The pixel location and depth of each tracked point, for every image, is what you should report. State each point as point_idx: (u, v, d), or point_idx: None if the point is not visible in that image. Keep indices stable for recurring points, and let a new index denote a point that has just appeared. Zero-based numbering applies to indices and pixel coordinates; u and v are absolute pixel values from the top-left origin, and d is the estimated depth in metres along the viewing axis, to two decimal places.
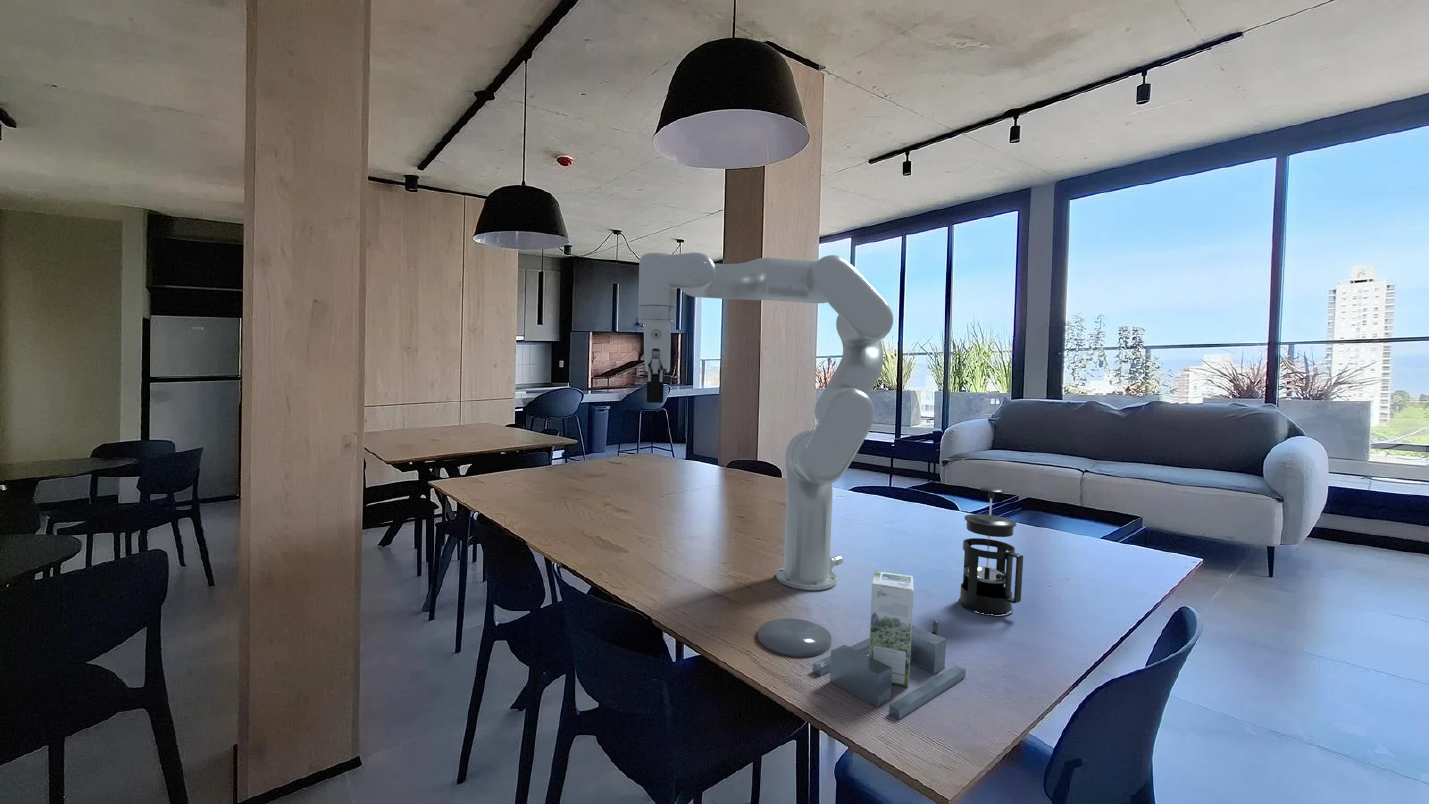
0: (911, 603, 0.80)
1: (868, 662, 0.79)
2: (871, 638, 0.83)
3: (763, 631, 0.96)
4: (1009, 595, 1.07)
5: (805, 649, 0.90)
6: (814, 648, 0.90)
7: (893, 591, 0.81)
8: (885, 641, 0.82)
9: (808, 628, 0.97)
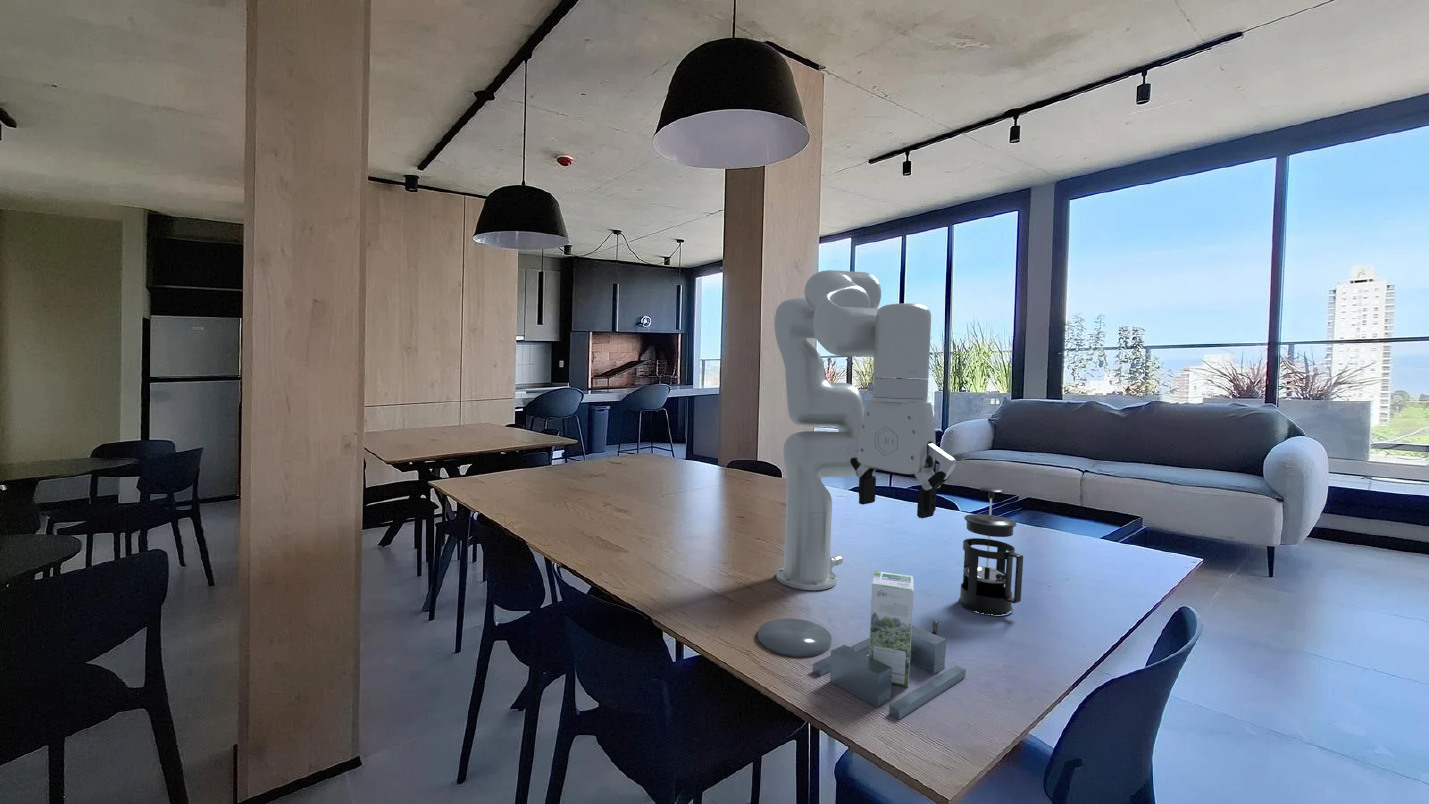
0: (911, 603, 0.80)
1: (868, 662, 0.79)
2: (871, 638, 0.83)
3: (763, 631, 0.96)
4: (1009, 595, 1.07)
5: (805, 649, 0.90)
6: (814, 648, 0.90)
7: (893, 591, 0.81)
8: (885, 641, 0.82)
9: (808, 628, 0.97)
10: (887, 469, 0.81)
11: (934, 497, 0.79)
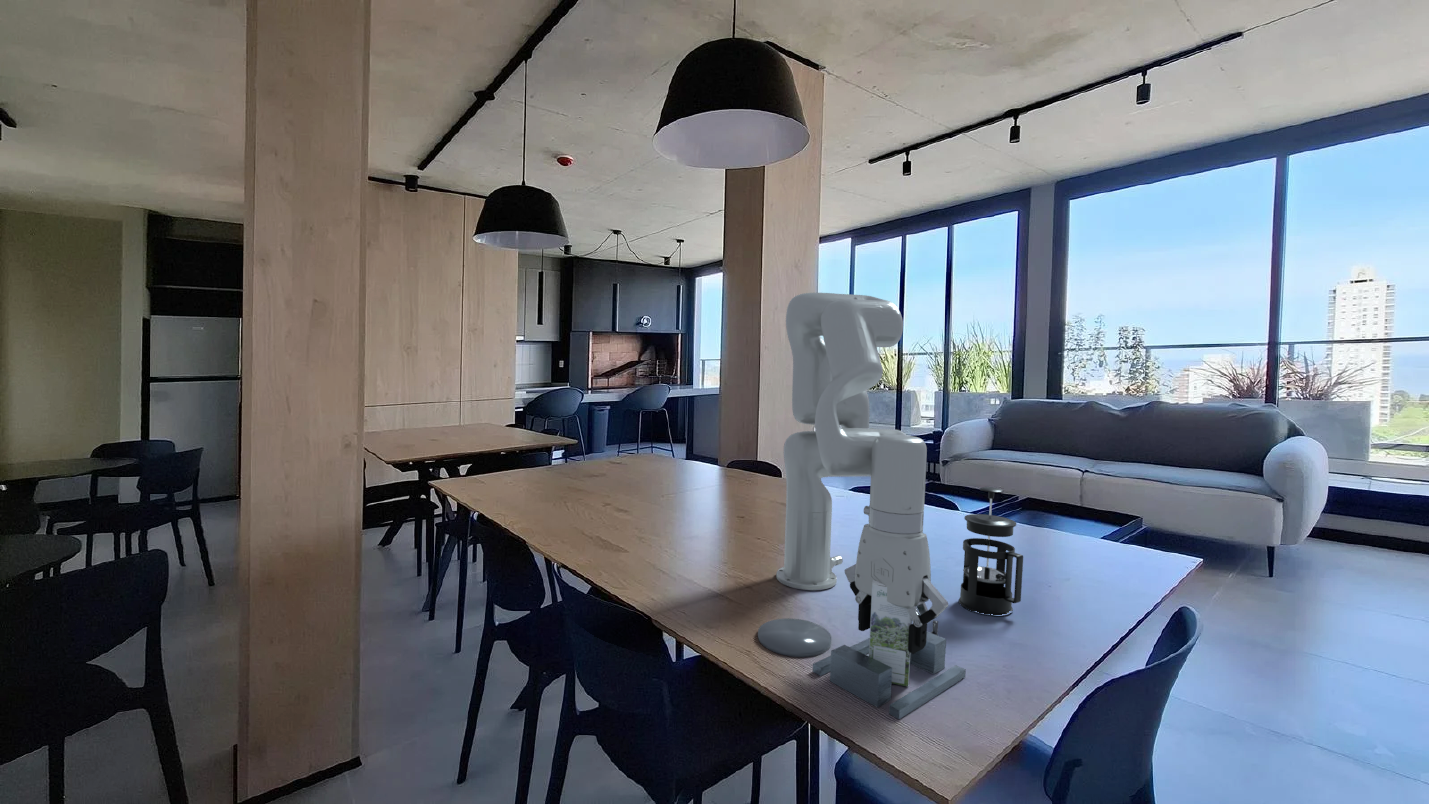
0: None
1: (868, 662, 0.79)
2: (871, 638, 0.83)
3: (763, 631, 0.96)
4: (1009, 595, 1.07)
5: (805, 649, 0.90)
6: (814, 648, 0.90)
7: None
8: (885, 641, 0.82)
9: (808, 628, 0.97)
10: None
11: (925, 632, 0.81)
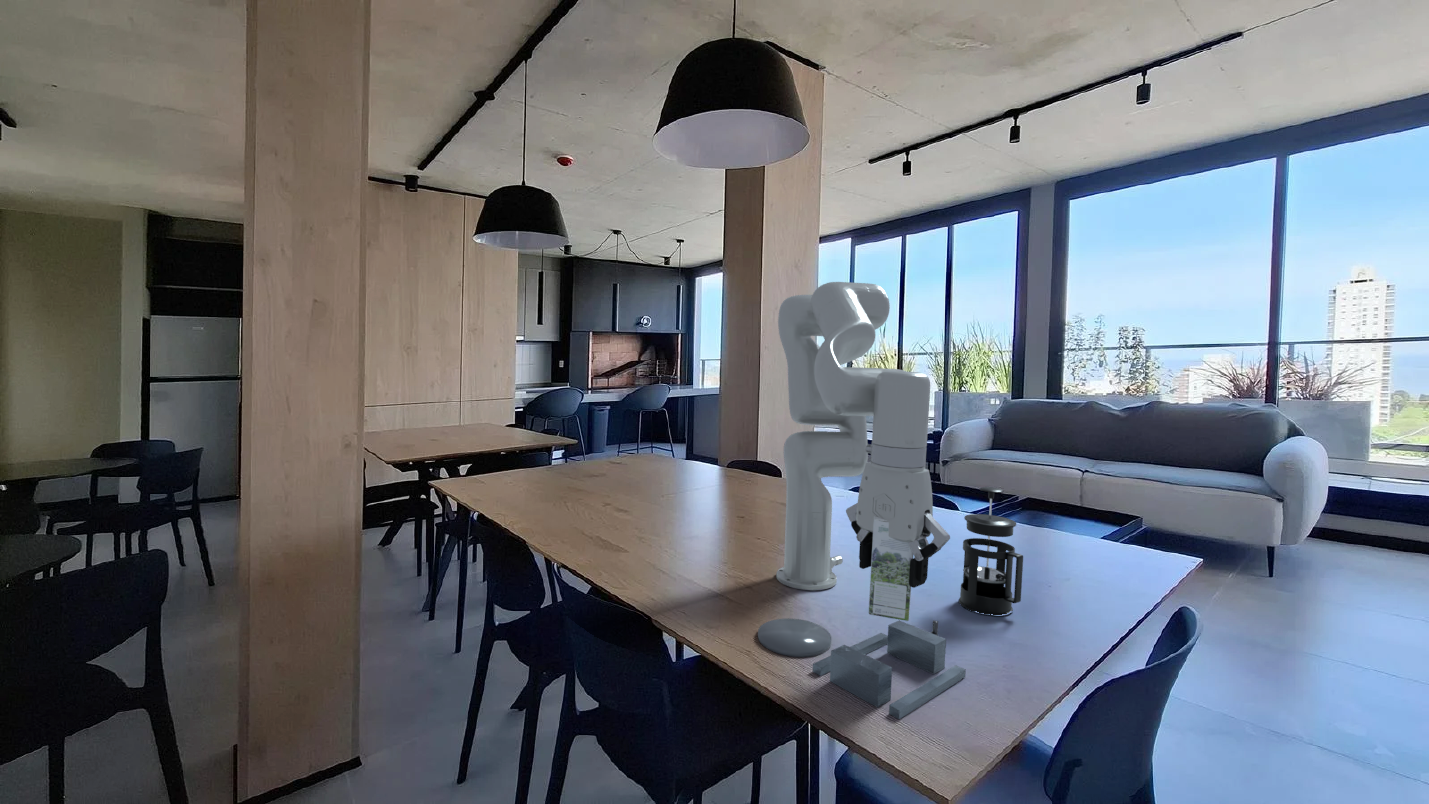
0: None
1: (868, 662, 0.79)
2: (872, 573, 0.83)
3: (763, 631, 0.96)
4: (1009, 595, 1.07)
5: (805, 649, 0.90)
6: (814, 648, 0.90)
7: None
8: (886, 576, 0.82)
9: (808, 628, 0.97)
10: None
11: (926, 567, 0.81)
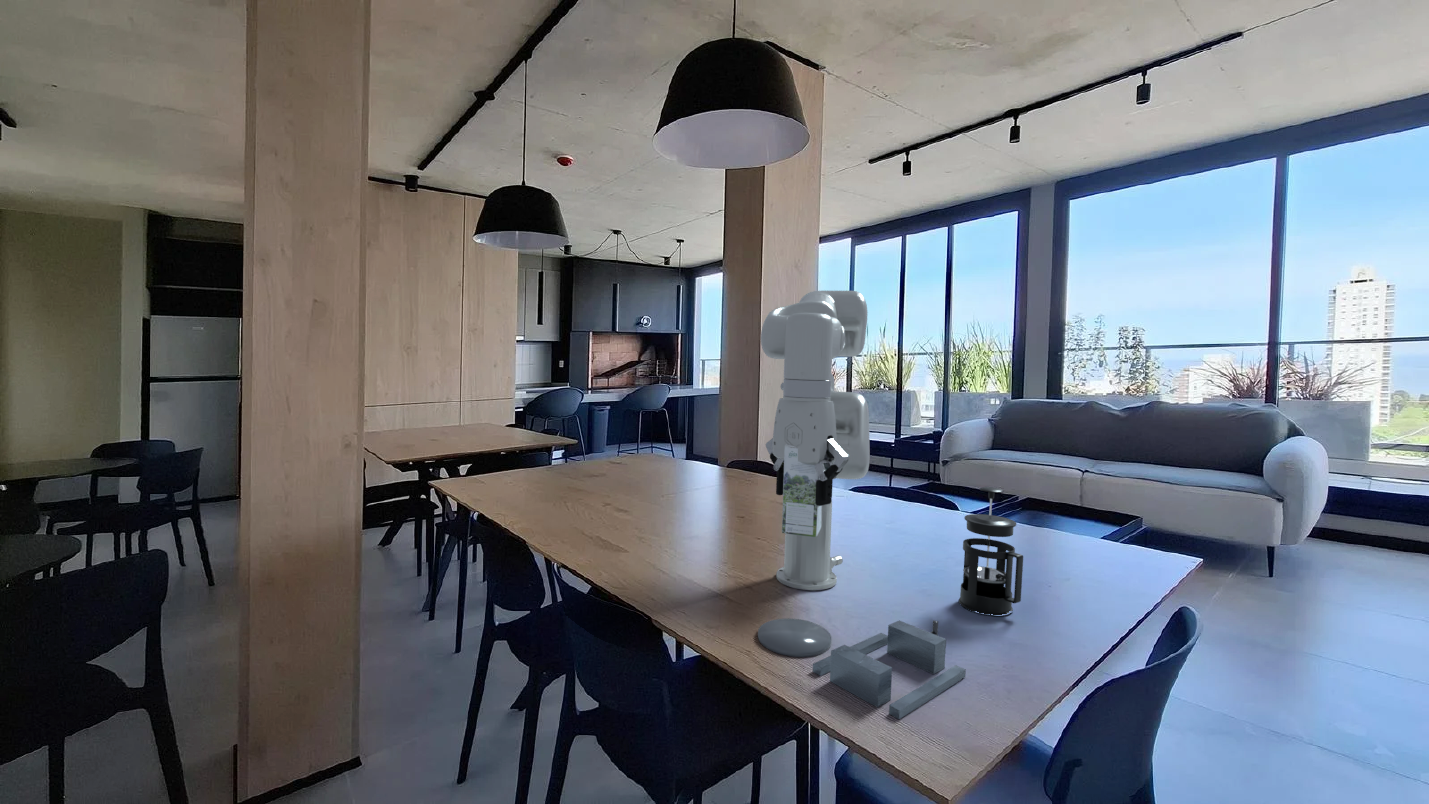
0: None
1: (868, 662, 0.79)
2: (784, 495, 0.92)
3: (763, 631, 0.96)
4: (1009, 595, 1.07)
5: (805, 649, 0.90)
6: (814, 648, 0.90)
7: None
8: (796, 497, 0.91)
9: (808, 628, 0.97)
10: None
11: (830, 487, 0.90)
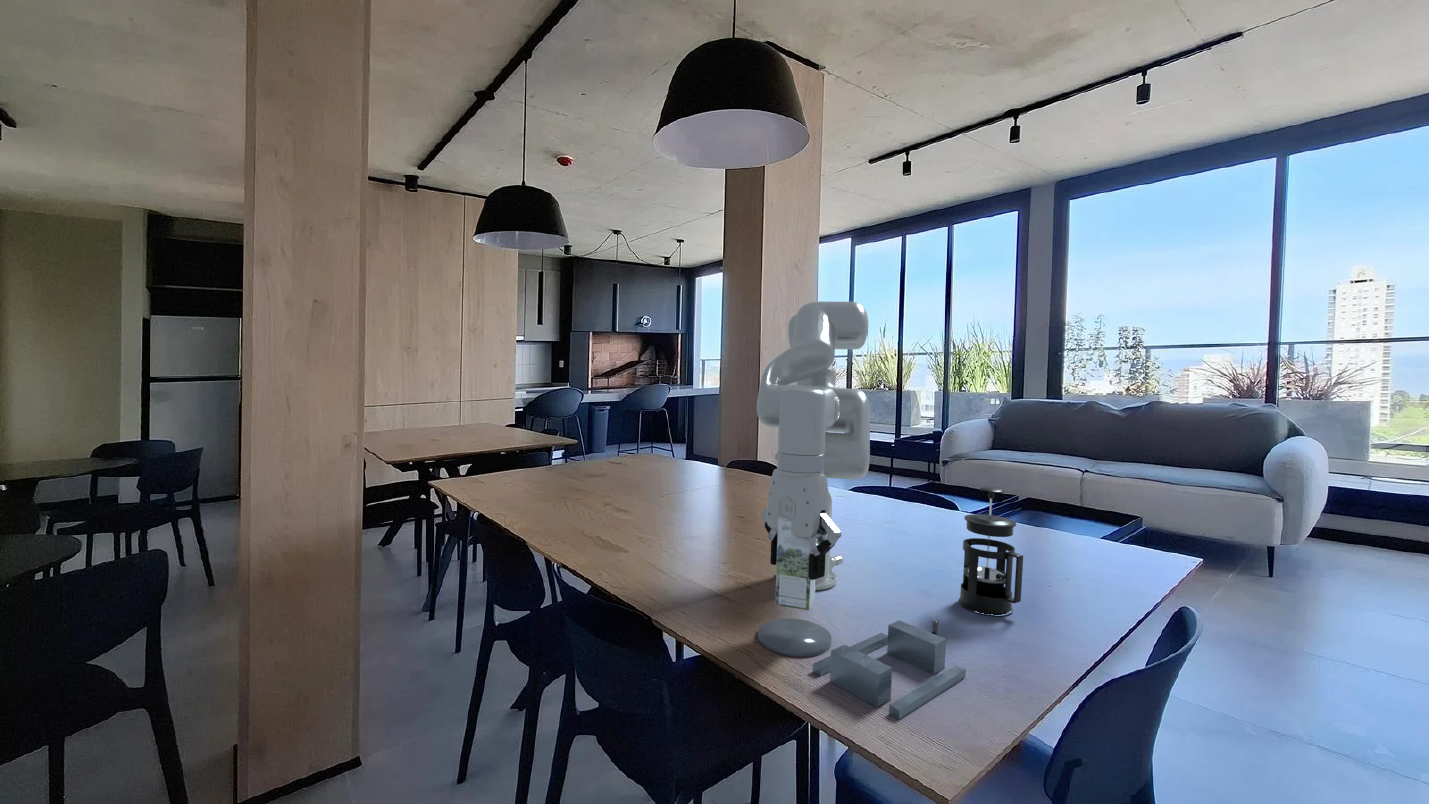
0: None
1: (868, 662, 0.79)
2: (777, 568, 0.93)
3: (763, 631, 0.96)
4: (1009, 595, 1.07)
5: (805, 649, 0.90)
6: (814, 648, 0.90)
7: None
8: (789, 570, 0.92)
9: (808, 628, 0.97)
10: None
11: (823, 561, 0.90)
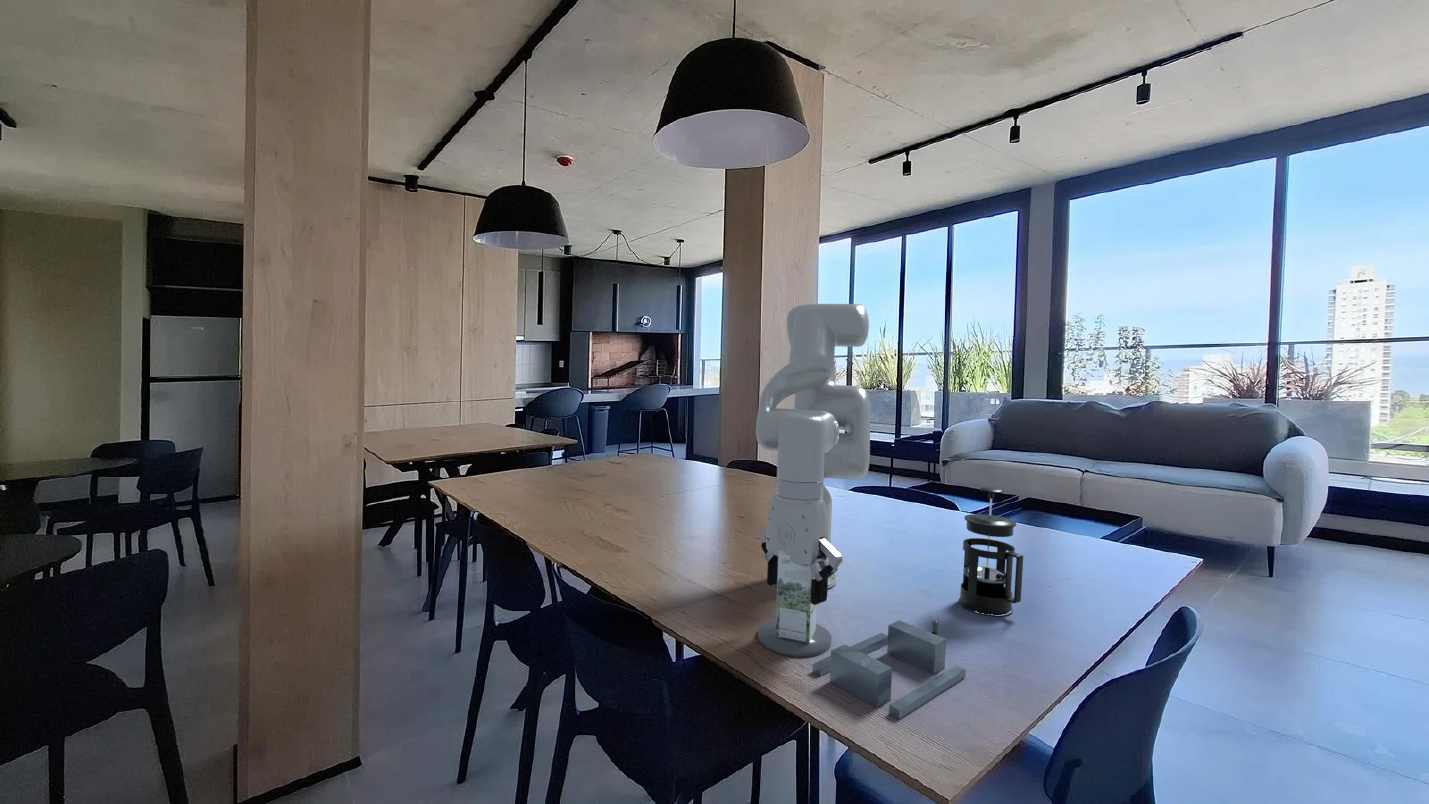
0: None
1: (868, 662, 0.79)
2: (777, 601, 0.93)
3: (763, 631, 0.96)
4: (1009, 595, 1.07)
5: (805, 649, 0.90)
6: (814, 648, 0.90)
7: None
8: (789, 603, 0.92)
9: None
10: None
11: (825, 586, 0.90)
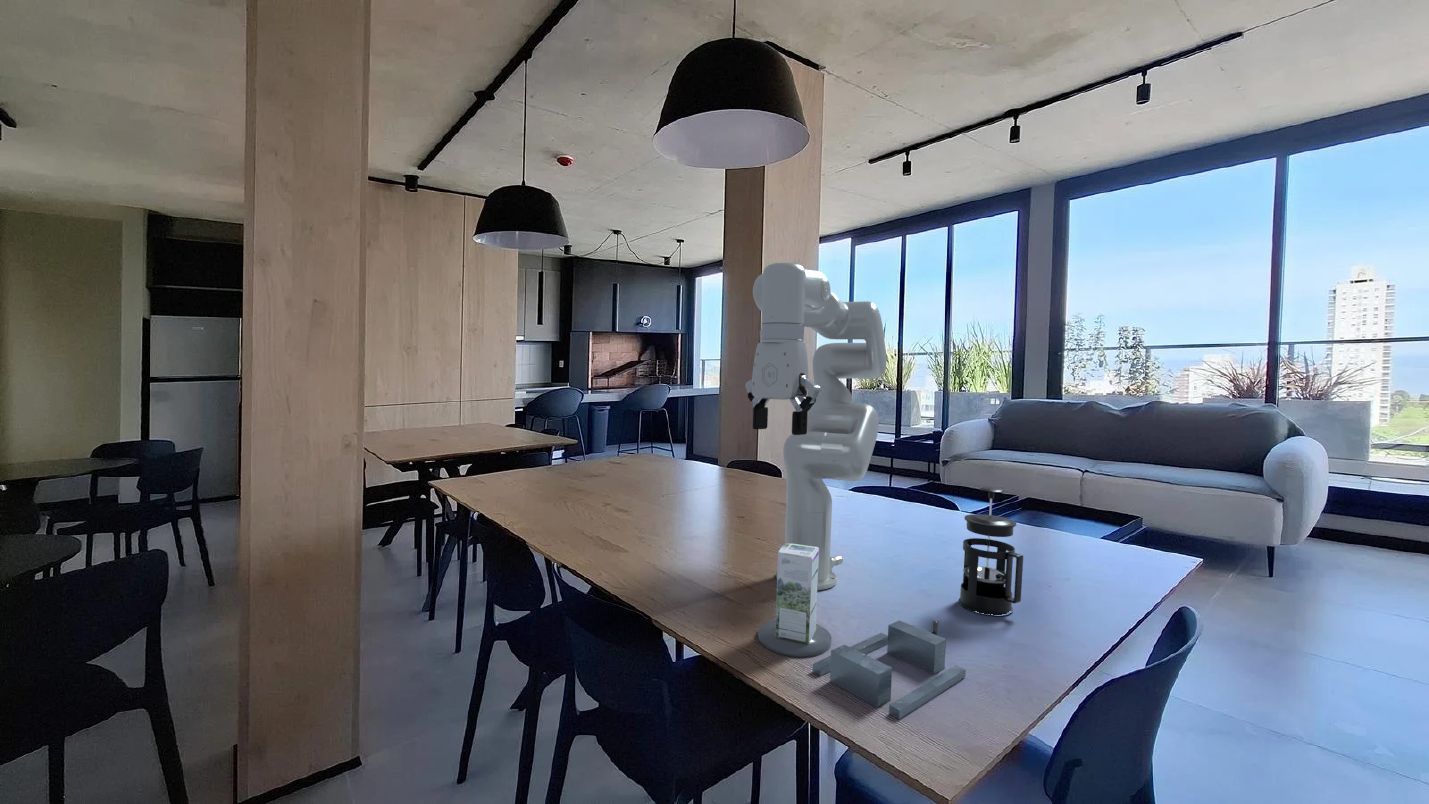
0: (810, 569, 0.91)
1: (868, 662, 0.79)
2: (777, 601, 0.93)
3: (763, 631, 0.96)
4: (1009, 595, 1.07)
5: (805, 649, 0.90)
6: (814, 648, 0.90)
7: (795, 558, 0.91)
8: (789, 604, 0.92)
9: None
10: (770, 397, 1.00)
11: (805, 418, 0.98)
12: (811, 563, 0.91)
